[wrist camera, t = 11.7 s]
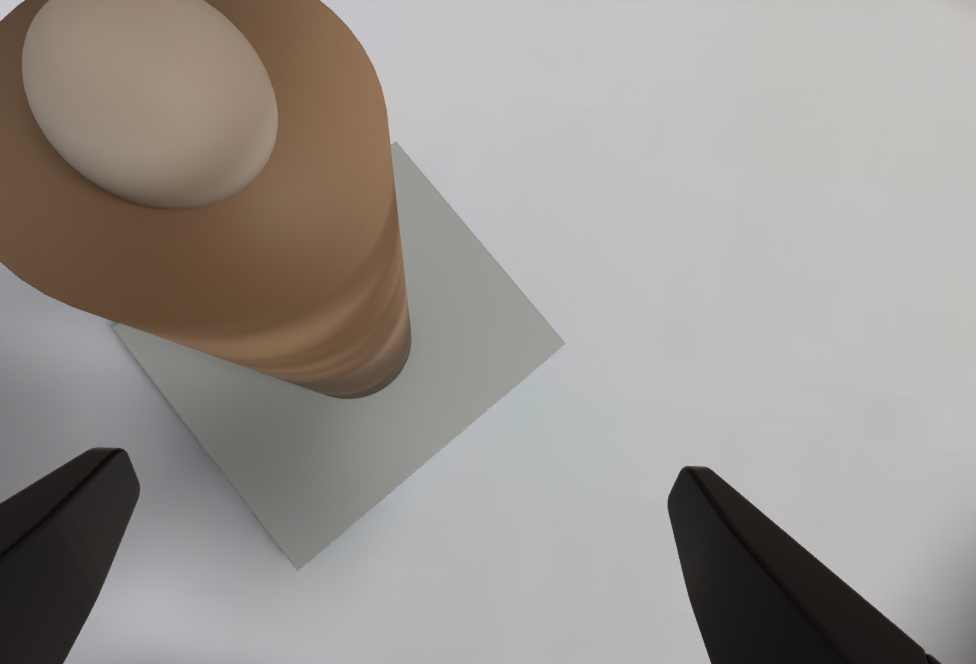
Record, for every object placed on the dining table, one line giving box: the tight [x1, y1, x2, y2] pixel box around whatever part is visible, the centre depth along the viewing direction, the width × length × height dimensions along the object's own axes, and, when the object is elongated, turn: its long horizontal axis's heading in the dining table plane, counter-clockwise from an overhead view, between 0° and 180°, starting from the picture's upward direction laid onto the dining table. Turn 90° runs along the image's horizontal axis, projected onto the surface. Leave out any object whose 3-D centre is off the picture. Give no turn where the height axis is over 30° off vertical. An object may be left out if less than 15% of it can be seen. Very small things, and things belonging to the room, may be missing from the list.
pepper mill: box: [0, 0, 412, 399], centre depth 13 cm, size 5×5×17 cm
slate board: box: [113, 142, 566, 571], centre depth 21 cm, size 14×12×1 cm
